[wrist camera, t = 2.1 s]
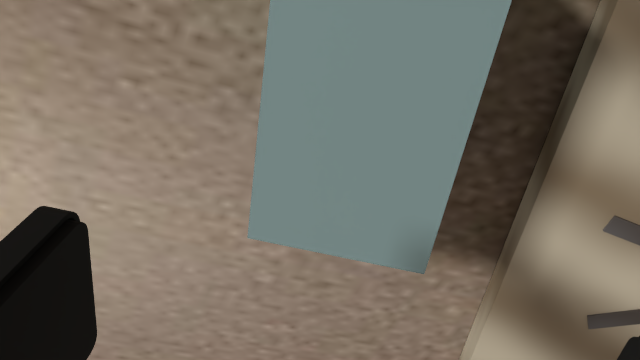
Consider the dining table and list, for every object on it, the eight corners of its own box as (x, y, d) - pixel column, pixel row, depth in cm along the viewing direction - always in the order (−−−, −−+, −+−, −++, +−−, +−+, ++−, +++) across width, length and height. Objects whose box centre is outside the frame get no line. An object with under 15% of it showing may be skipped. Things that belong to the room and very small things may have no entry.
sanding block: (319, -107, 19) (278, -87, 14) (490, -77, 19) (525, -43, 13) (287, 144, 25) (247, 238, 19) (420, 170, 24) (424, 274, 18)
